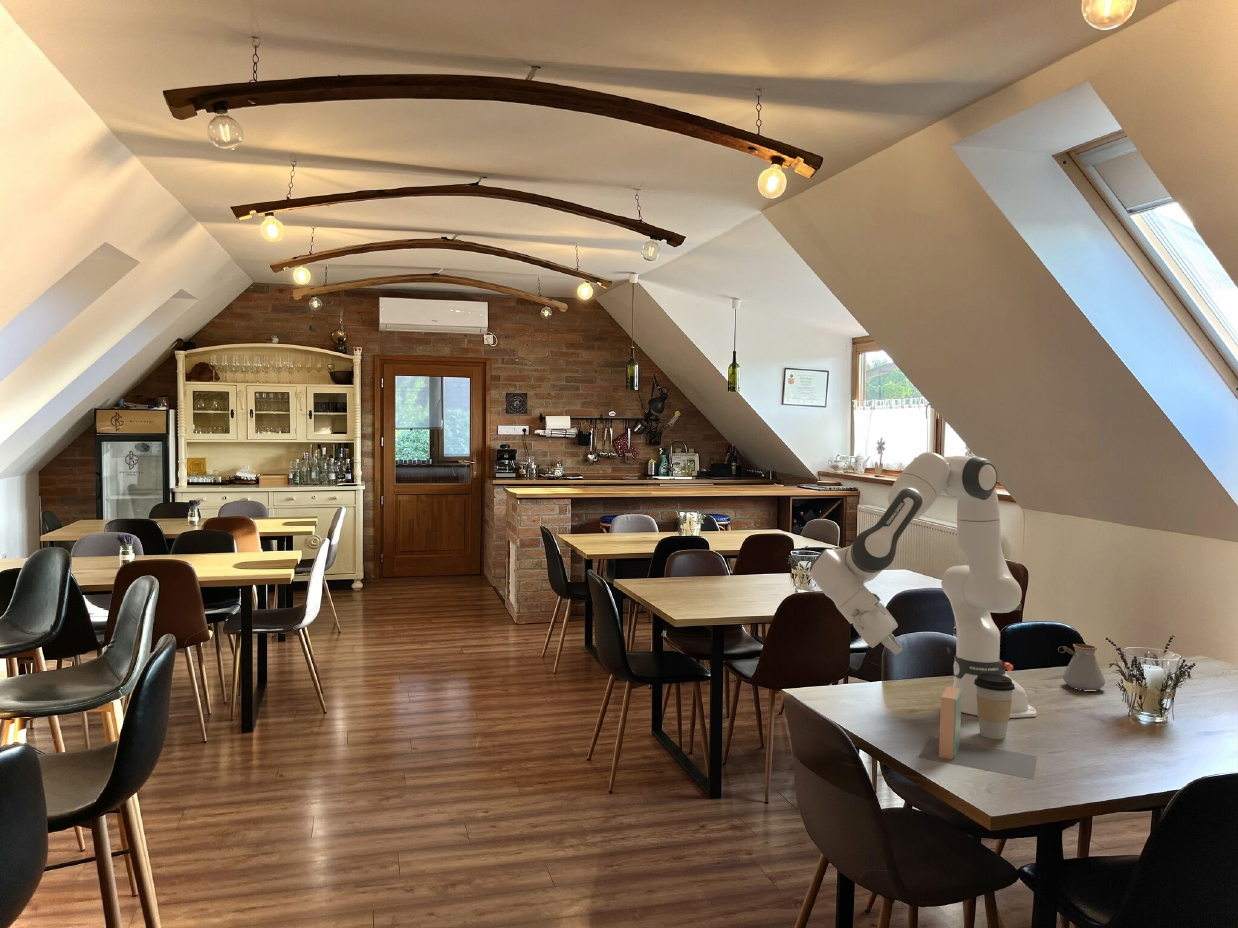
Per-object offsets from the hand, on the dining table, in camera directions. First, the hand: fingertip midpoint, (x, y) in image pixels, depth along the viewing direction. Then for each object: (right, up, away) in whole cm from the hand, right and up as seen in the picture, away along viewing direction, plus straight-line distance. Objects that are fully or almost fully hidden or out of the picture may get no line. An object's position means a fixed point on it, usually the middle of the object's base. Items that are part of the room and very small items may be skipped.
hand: (899, 652), depth 208 cm
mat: (+16, -23, -8) cm, 29 cm away
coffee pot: (+70, -23, +50) cm, 89 cm away
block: (+10, -22, -5) cm, 25 cm away
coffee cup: (+26, -23, +7) cm, 35 cm away
